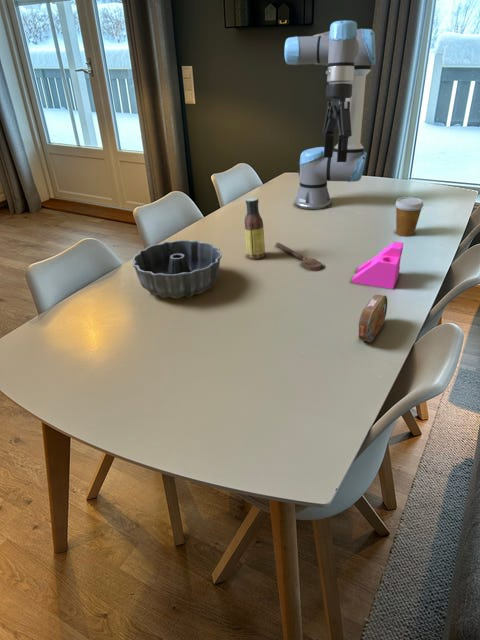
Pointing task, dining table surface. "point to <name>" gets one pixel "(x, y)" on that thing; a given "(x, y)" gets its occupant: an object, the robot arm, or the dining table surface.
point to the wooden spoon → (302, 258)
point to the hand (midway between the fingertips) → (334, 159)
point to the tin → (372, 318)
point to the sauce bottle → (254, 230)
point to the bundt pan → (178, 268)
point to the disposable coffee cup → (407, 215)
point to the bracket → (381, 268)
